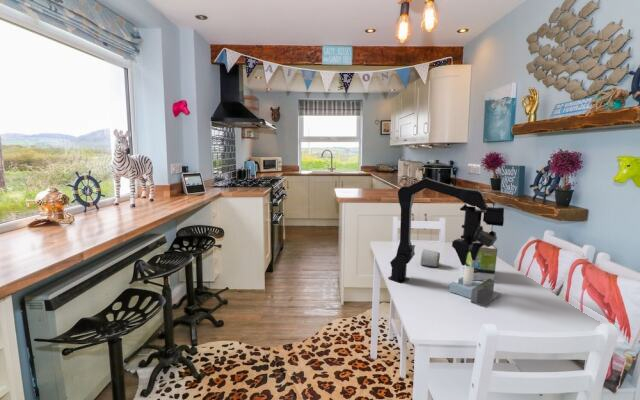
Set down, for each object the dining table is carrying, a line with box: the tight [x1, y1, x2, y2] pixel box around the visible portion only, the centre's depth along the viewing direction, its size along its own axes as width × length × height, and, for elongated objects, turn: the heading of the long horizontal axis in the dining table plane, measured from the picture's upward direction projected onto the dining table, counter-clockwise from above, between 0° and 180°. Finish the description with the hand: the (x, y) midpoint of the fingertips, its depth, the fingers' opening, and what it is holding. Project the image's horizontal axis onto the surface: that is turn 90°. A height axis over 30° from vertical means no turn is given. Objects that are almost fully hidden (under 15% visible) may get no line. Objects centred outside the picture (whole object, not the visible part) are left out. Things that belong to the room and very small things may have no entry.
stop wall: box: [470, 279, 503, 308], centre depth 127 cm, size 16×5×5 cm, turn 134°
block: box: [449, 277, 482, 299], centre depth 132 cm, size 10×10×3 cm
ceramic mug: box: [420, 248, 441, 268], centre depth 164 cm, size 11×8×8 cm
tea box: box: [462, 244, 498, 282], centre depth 151 cm, size 15×10×15 cm, turn 168°
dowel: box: [462, 266, 474, 287], centre depth 132 cm, size 3×3×10 cm
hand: (468, 262), depth 131 cm, fingers open, 9 cm apart
